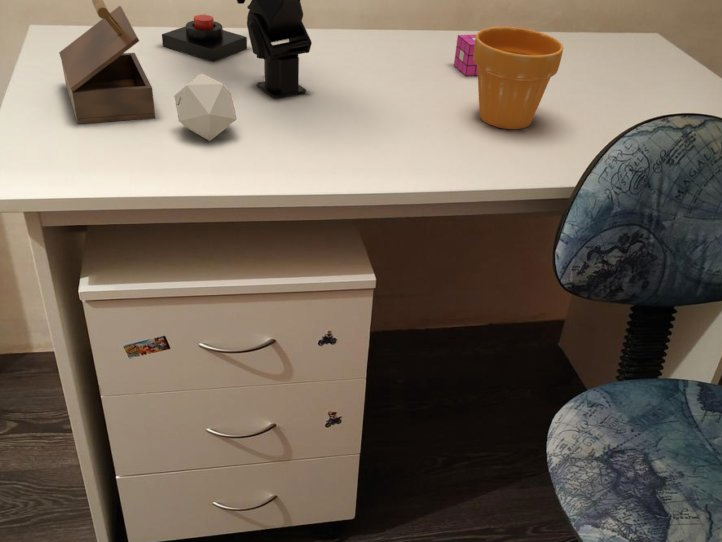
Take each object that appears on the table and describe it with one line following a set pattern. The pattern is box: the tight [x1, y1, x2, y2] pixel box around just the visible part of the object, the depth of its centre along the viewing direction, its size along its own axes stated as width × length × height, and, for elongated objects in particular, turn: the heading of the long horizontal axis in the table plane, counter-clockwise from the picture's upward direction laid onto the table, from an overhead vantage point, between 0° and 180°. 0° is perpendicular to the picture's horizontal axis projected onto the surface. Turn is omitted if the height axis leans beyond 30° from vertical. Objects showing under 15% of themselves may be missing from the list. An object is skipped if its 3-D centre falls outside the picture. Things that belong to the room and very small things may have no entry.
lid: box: [58, 0, 140, 92], centre depth 121 cm, size 12×16×5 cm
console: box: [161, 20, 248, 63], centre depth 150 cm, size 12×10×4 cm
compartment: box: [61, 52, 156, 125], centre depth 127 cm, size 12×16×5 cm
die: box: [174, 72, 238, 142], centre depth 121 cm, size 8×9×10 cm
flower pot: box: [473, 26, 564, 130], centre depth 133 cm, size 14×14×13 cm
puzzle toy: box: [453, 34, 478, 77], centre depth 153 cm, size 6×6×6 cm
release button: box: [193, 14, 215, 29], centre depth 149 cm, size 4×4×2 cm
